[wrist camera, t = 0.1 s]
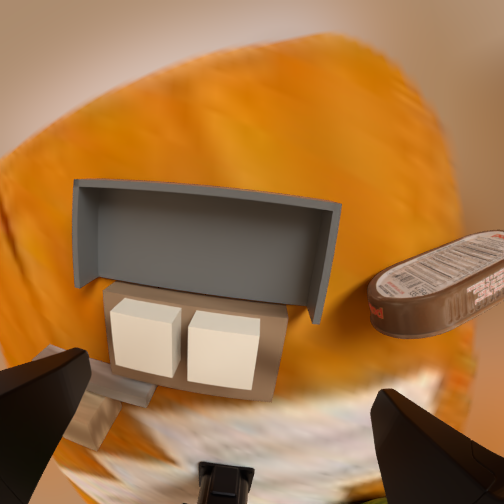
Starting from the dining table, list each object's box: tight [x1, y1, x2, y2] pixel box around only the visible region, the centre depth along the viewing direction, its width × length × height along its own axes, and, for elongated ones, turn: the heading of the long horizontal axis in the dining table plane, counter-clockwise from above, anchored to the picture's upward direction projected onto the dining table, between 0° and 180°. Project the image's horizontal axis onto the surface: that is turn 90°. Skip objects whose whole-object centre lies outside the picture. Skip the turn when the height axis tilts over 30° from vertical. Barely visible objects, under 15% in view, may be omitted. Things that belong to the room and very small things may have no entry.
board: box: [103, 281, 288, 402], centre depth 22 cm, size 8×14×2 cm, turn 83°
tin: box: [367, 230, 504, 339], centre depth 17 cm, size 15×3×8 cm, turn 109°
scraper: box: [32, 345, 157, 451], centre depth 22 cm, size 6×13×7 cm, turn 83°
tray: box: [72, 179, 342, 324], centre depth 20 cm, size 8×18×4 cm, turn 83°
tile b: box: [110, 298, 181, 378], centre depth 20 cm, size 4×4×2 cm
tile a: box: [187, 310, 260, 390], centre depth 20 cm, size 4×4×2 cm
